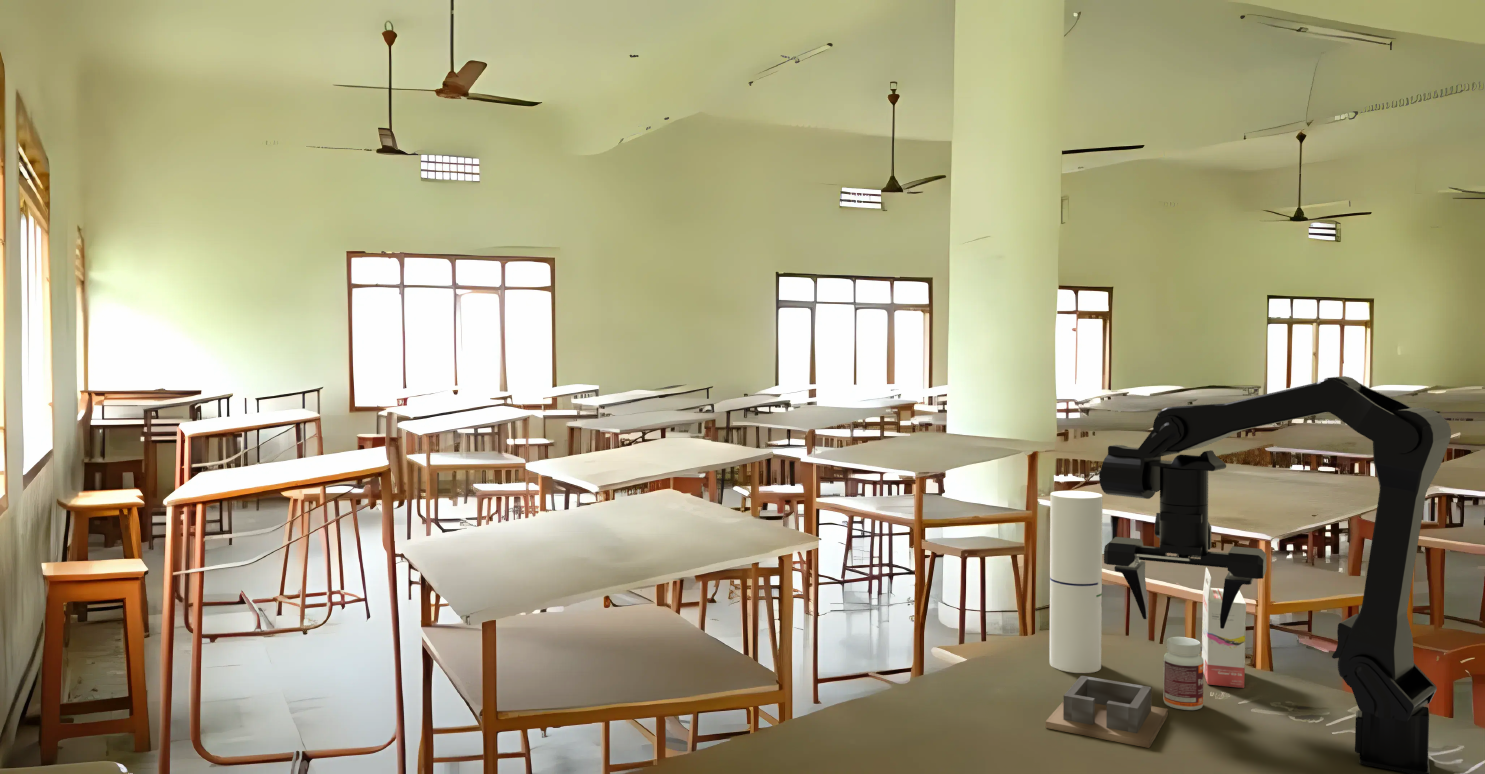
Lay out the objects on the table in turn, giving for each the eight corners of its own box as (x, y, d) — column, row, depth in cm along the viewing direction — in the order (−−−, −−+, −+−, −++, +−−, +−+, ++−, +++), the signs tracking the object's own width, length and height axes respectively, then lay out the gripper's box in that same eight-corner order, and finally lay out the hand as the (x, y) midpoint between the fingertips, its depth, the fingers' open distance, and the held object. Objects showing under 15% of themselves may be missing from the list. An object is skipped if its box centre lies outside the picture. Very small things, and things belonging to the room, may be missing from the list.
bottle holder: (1167, 714, 128) (1168, 685, 128) (1149, 747, 118) (1149, 715, 118) (1071, 697, 135) (1071, 669, 135) (1045, 727, 125) (1045, 696, 125)
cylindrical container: (1039, 661, 150) (1039, 492, 149) (1076, 654, 153) (1077, 489, 152) (1073, 675, 144) (1074, 499, 142) (1112, 668, 147) (1113, 495, 145)
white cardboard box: (1246, 689, 138) (1248, 581, 137) (1206, 685, 139) (1207, 578, 138) (1238, 669, 146) (1240, 567, 145) (1200, 666, 147) (1202, 565, 147)
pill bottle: (1207, 712, 129) (1208, 647, 129) (1167, 709, 130) (1168, 645, 130) (1198, 699, 134) (1199, 636, 134) (1159, 696, 135) (1160, 634, 135)
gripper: (1270, 498, 133) (1269, 617, 133) (1120, 490, 142) (1120, 600, 143) (1263, 511, 123) (1262, 639, 124) (1103, 501, 133) (1103, 619, 134)
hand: (1183, 622), depth 131 cm, fingers open, 9 cm apart
